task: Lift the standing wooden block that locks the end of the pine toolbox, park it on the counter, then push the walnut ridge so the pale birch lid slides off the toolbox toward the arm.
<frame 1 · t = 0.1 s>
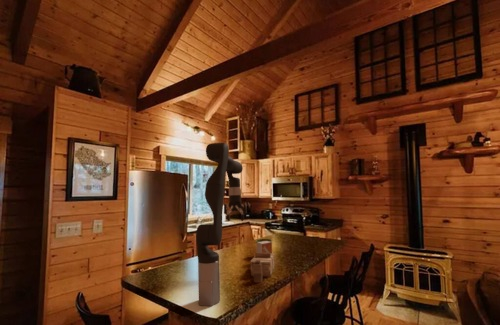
hand: (235, 220, 160), 29 cm above the counter, fingers open, 8 cm apart
lid: (262, 255, 153), point 9 cm above the counter, slide at 0.0 cm
plant pot: (264, 256, 186), on the counter
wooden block: (258, 280, 137), on the counter
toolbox: (263, 271, 152), on the counter
small box: (264, 262, 171), on the counter
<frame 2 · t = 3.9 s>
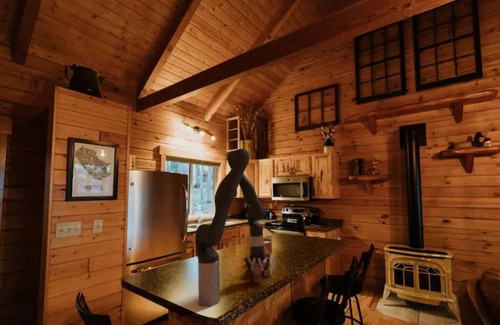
hand: (258, 277, 137), 2 cm above the counter, fingers closed on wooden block, 4 cm apart
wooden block: (258, 280, 137), on the counter, touching gripper
everything else where it was.
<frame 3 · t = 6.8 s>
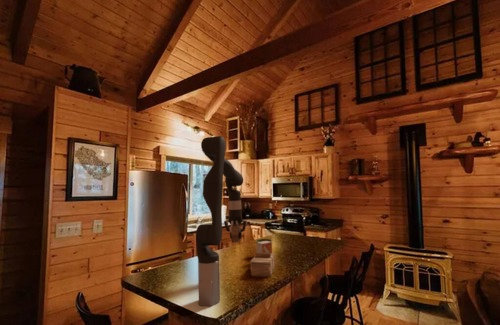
hand: (236, 238, 148), 20 cm above the counter, fingers closed on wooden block, 4 cm apart
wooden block: (236, 241, 148), point 19 cm above the counter, touching gripper
everything else where it was.
when the fingers open (3 cm above the counter, at t = 9.7 s): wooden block drops 1 cm, on the counter.
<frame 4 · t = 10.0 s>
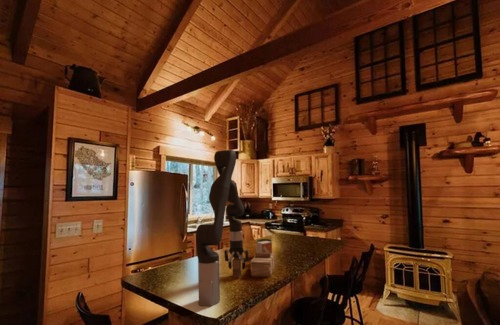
hand: (237, 268, 147), 4 cm above the counter, fingers open, 7 cm apart
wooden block: (237, 275, 146), on the counter
everything else where it was.
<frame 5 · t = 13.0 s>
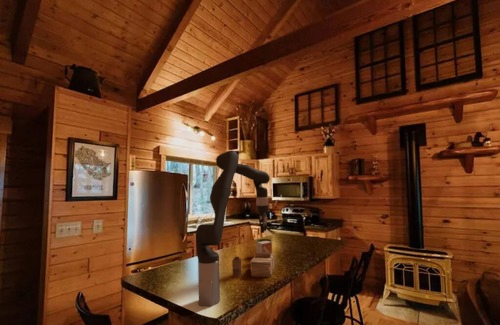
hand: (263, 231, 160), 22 cm above the counter, fingers open, 6 cm apart
nothing on the counter moved.
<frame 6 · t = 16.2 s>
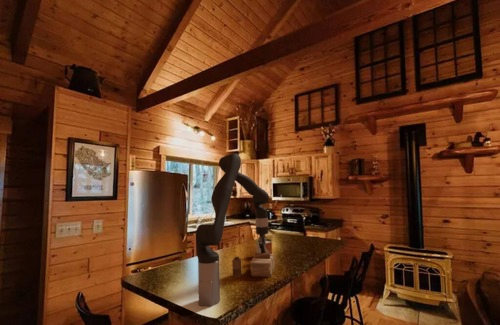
hand: (263, 255, 154), 9 cm above the counter, fingers closed
lid: (262, 256, 152), point 9 cm above the counter, slide at 1.4 cm, touching gripper
everything else where it was.
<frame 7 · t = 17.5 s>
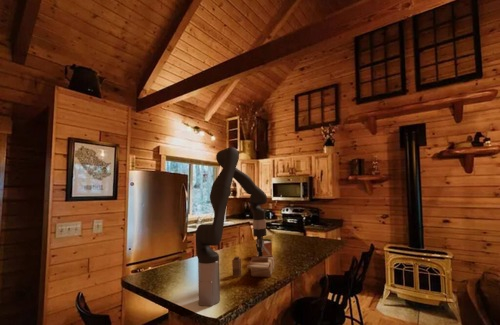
hand: (260, 258, 147), 9 cm above the counter, fingers closed
lid: (260, 260, 144), point 9 cm above the counter, slide at 8.9 cm, touching gripper
everything else where it was.
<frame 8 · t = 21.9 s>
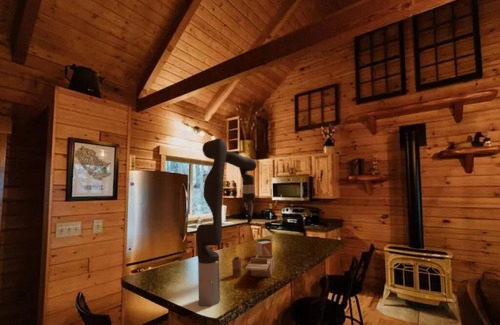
hand: (249, 222, 153), 29 cm above the counter, fingers closed
lid: (259, 261, 141), point 9 cm above the counter, slide at 12.0 cm
everything else where it was.
at the end: lid slide at 12.0 cm; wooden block inside the target area (0.1 cm from its centre), on the counter; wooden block tilted 0° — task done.
